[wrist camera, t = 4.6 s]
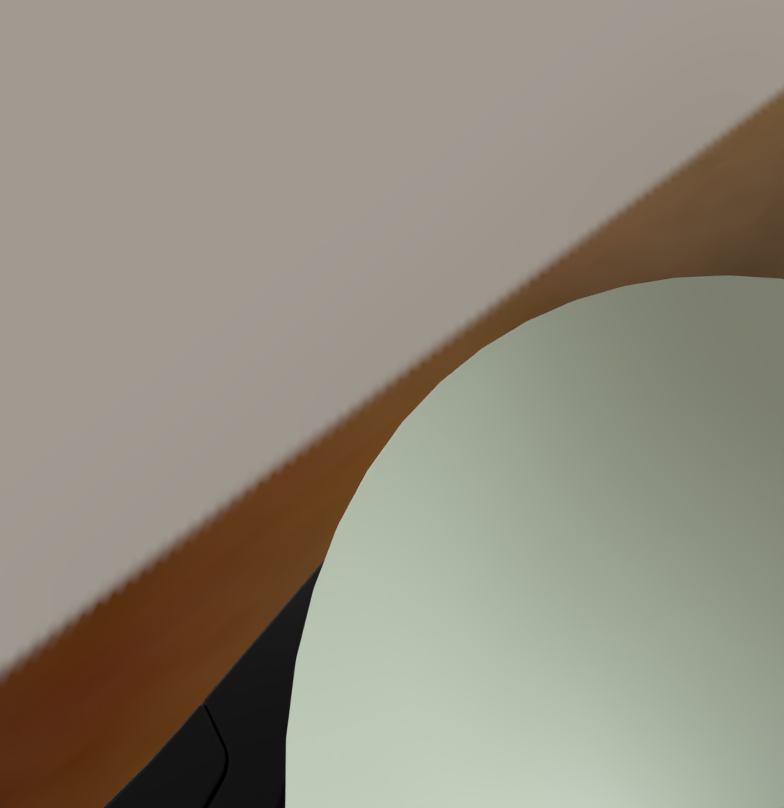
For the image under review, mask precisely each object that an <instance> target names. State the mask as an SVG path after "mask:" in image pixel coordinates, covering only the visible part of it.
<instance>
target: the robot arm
mask: <svg viewBox="0 0 784 808" xmlns="http://www.w3.org/2000/svg"><path fill="white" fill-rule="evenodd" d="M324 561H325V559H324V560H323V562H322V563H321V564H320V565H319V566H318V567H317V569H316V570H315V571H314V572H313V573H312V574H311V576H310V577H309V578H308V579H307V580H306V581H305V583H304V584H303V585H302V586H301V587H300V588H299V590H298V591H297V592H296V593H295V594H294V595H293V596H292V598H291V599H290V600H289V601H288V602H287V603H286V605H285V606H284V607H283V608H282V609H281V610H280V612H279V613H278V614H277V615H276V616H275V617H274V619H273V620H272V621H271V622H270V623H269V624H268V626H267V627H266V628H265V629H264V630H263V631H262V633H261V634H260V635H259V636H258V637H257V638H256V640H255V641H254V642H253V643H252V644H251V645H250V647H249V648H248V649H247V650H246V651H245V652H244V654H243V655H242V656H241V657H240V658H239V659H238V661H237V662H236V663H235V664H234V665H233V666H232V668H231V669H230V670H229V671H228V672H227V673H226V675H225V676H224V677H223V678H222V679H221V680H220V682H219V683H218V684H217V685H216V686H215V687H214V689H213V690H212V691H211V692H210V693H209V694H208V696H207V697H206V698H205V699H204V701H203V705H199V706H198V707H197V708H196V709H195V710H194V711H193V713H192V714H191V715H190V716H189V717H188V718H187V720H186V721H185V722H184V723H183V724H182V725H181V727H180V728H179V729H178V730H177V731H176V732H175V733H174V734H173V735H172V737H171V738H170V739H169V740H168V741H167V742H166V743H165V744H164V745H163V747H162V748H161V749H160V750H159V751H158V752H157V753H156V754H155V755H154V756H153V758H152V759H151V760H150V761H149V762H148V763H147V764H146V765H145V766H144V767H143V768H142V769H141V770H140V771H139V772H138V773H137V774H136V775H135V776H134V777H133V778H132V779H131V780H130V781H129V782H128V783H127V784H126V785H125V786H124V787H123V788H122V789H121V790H120V791H119V792H118V793H117V794H116V795H115V796H114V797H113V798H112V799H111V800H110V801H109V802H108V803H107V804H106V805H105V806H104V807H103V808H285V798H286V736H287V728H288V720H289V712H290V704H291V696H292V688H293V680H294V672H295V664H296V658H297V654H298V650H299V646H300V642H301V638H302V634H303V630H304V626H305V622H306V618H307V614H308V610H309V606H310V602H311V598H312V594H313V590H314V587H315V584H316V581H317V579H318V576H319V574H320V571H321V568H322V566H323V563H324Z"/></svg>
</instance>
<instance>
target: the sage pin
mask: <svg viewBox="0 0 784 808" xmlns="http://www.w3.org/2000/svg"><path fill="white" fill-rule="evenodd" d="M285 808H784V279H778V278H762V277H746V276H731V275H724V276H702V277H681V278H670V279H664V280H658V281H652V282H646V283H640V284H634V285H628V286H623V287H619V288H616V289H612V290H609V291H605V292H602V293H599V294H595V295H592V296H588V297H585V298H582V299H578V300H575V301H572V302H570V303H568V304H565V305H563V306H561V307H559V308H556V309H554V310H552V311H549V312H547V313H545V314H543V315H540V316H538V317H536V318H533V319H531V320H529V321H527V322H525V323H523V324H522V325H520V326H518V327H517V328H515V329H513V330H512V331H510V332H508V333H507V334H505V335H504V336H502V337H500V338H499V339H497V340H495V341H494V342H492V343H490V344H489V345H487V346H485V347H484V348H482V349H481V350H480V351H478V352H477V353H476V354H475V355H473V356H472V357H471V358H470V359H468V360H467V361H466V362H465V363H463V364H462V365H461V366H460V367H459V368H457V369H456V370H455V371H454V372H452V373H451V374H450V375H449V376H447V377H446V378H445V379H444V380H442V381H441V382H440V383H439V384H438V385H437V386H436V387H435V388H434V389H433V390H432V391H431V393H430V394H429V395H428V396H427V397H426V398H425V399H424V400H423V401H422V402H421V403H420V404H419V405H418V406H417V407H416V408H415V409H414V411H413V412H412V413H411V414H410V415H409V416H408V417H407V418H406V419H405V420H404V421H403V422H402V423H401V425H400V426H399V428H398V429H397V430H396V432H395V433H394V434H393V436H392V437H391V439H390V440H389V441H388V443H387V444H386V446H385V447H384V448H383V450H382V451H381V453H380V454H379V455H378V457H377V458H376V459H375V461H374V462H373V464H372V465H371V466H370V468H369V469H368V471H367V472H366V474H365V476H364V478H363V480H362V482H361V484H360V485H359V487H358V489H357V491H356V493H355V495H354V497H353V499H352V500H351V502H350V504H349V506H348V508H347V510H346V512H345V513H344V515H343V517H342V519H341V521H340V523H339V525H338V527H337V529H336V532H335V534H334V537H333V540H332V542H331V545H330V548H329V550H328V553H327V555H326V558H325V561H324V563H323V566H322V568H321V571H320V574H319V576H318V579H317V581H316V584H315V587H314V590H313V594H312V598H311V602H310V606H309V610H308V614H307V618H306V622H305V626H304V630H303V634H302V638H301V642H300V646H299V650H298V654H297V658H296V664H295V672H294V680H293V688H292V696H291V704H290V712H289V720H288V728H287V736H286V798H285Z"/></svg>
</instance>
